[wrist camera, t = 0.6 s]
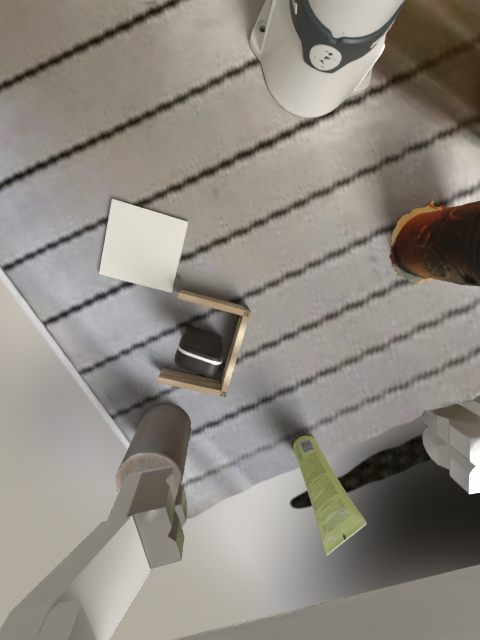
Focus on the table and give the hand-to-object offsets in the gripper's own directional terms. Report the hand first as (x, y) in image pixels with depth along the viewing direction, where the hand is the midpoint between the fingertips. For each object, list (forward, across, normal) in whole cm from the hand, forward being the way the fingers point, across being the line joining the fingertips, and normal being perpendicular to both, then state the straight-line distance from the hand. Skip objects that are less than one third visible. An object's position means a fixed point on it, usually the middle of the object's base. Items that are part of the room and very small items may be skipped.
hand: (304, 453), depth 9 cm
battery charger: (+42, +7, +7) cm, 43 cm away
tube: (+42, -9, +34) cm, 55 cm away
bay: (+41, +7, +7) cm, 42 cm away
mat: (+41, +13, -10) cm, 44 cm away
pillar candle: (+42, +17, +23) cm, 51 cm away
